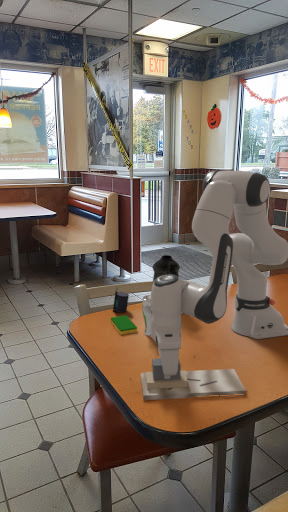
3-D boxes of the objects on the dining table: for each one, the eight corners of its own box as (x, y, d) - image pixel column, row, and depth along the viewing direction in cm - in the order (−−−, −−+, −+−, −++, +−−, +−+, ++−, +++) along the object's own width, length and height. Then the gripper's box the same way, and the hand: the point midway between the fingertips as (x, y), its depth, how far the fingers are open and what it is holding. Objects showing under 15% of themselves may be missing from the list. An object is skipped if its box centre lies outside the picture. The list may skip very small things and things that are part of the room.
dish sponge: (126, 320, 168) (126, 314, 167) (137, 332, 155) (137, 327, 154) (110, 322, 165) (110, 317, 164) (120, 335, 153) (120, 330, 152)
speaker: (108, 311, 176) (110, 289, 173) (114, 307, 181) (116, 286, 178) (123, 315, 173) (125, 293, 170) (128, 311, 178) (131, 290, 176)
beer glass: (158, 337, 150) (158, 301, 146) (141, 336, 151) (140, 300, 148) (161, 329, 156) (161, 295, 153) (144, 328, 158) (144, 294, 154)
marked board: (233, 373, 124) (233, 368, 124) (245, 395, 113) (245, 390, 112) (140, 377, 122) (140, 372, 122) (143, 400, 111) (143, 395, 110)
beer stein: (165, 299, 191) (165, 250, 185) (196, 309, 177) (197, 257, 171) (141, 307, 180) (140, 256, 174) (171, 319, 166) (171, 263, 160)
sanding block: (184, 376, 120) (184, 355, 118) (187, 387, 114) (187, 365, 112) (145, 377, 119) (145, 357, 117) (147, 389, 113) (146, 367, 112)
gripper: (152, 316, 122) (152, 356, 126) (158, 346, 103) (159, 392, 106) (171, 315, 123) (171, 355, 126) (182, 345, 103) (181, 391, 106)
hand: (165, 372), depth 116 cm, fingers closed on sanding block, 4 cm apart
